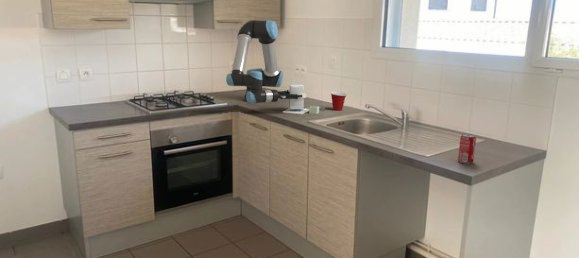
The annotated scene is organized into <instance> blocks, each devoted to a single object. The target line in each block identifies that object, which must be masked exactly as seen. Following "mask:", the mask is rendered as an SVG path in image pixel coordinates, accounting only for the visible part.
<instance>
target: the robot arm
mask: <svg viewBox="0 0 579 258" xmlns="http://www.w3.org/2000/svg"><path fill="white" fill-rule="evenodd" d="M278 31H279V29H278V25H277V23H276V21H274V20H270V19H268V20H257V19H256V20H252V19H251V20H249V21H246V22H245V23H244V24H243V25H242V26H241V27H240V29H239V30H238V33H237V36H236V40H237V45H236V49H235V53H234V58H233V65H232V69H231V73H227V75H226V78H225V80H226V81H225V82H226V85H228V86H229V87H230V86H231V87H245V88H246V90H245V94H244V97H243V101H244V102H247V103H249V104H259V103H266V104H267V103H271V102H272V103H273V102H278V100H279V99H280V100H287V99H288V100H289V99H296V100H297V99H298V98H304V99H306V98H307V92H306V93H305V92H304V93H302V94H290V89H286V90H281V91H278V90H277V89H266V90H265V89H263V87H265V88H267V87H269V88H280V87H281V86H282V83H283V75H284V72H283V71H282V70H281V69H280V67H279V66H278V62H277V55H276V46H275V42H276V40H277V39H278V37H279V32H278ZM253 39H258V42H259V43H260V45H261V49H262V50H261V51H262V56H263V63H264V67H265V68H264V69H263V68H262V67H258V68H257V67H256V68H251V69H247V70H246V73H245V68H246V63H247V57H248V54H249V53H248V52H249V47H250V43H251V42H252V40H253ZM244 73H245V74H244Z"/></svg>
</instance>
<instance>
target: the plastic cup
mask: <svg viewBox="0 0 579 258" xmlns="http://www.w3.org/2000/svg"><path fill="white" fill-rule="evenodd" d="M346 96H347V93H345V92H342V91H341V92H339V91H330V97H331V104H332V110H333V111H336V112H338V111H339V112H341V111H343V108H344V103H345V100H346Z"/></svg>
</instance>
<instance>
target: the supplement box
mask: <svg viewBox="0 0 579 258" xmlns="http://www.w3.org/2000/svg"><path fill="white" fill-rule="evenodd" d="M289 91H290V94H302V93H305V85H304V84H297V83H296V84H289ZM288 100H289V103H288V104H289V108H290V109H304V107H305V104H304V103H305V102H304V101H305V98H298V99H297V100H296V99H288Z"/></svg>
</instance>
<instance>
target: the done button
mask: <svg viewBox="0 0 579 258" xmlns="http://www.w3.org/2000/svg"><path fill="white" fill-rule="evenodd" d="M319 107H320V106H318V105H311V106H309V108H308V109H309V110H308V111H309V115H310V114H311V115H312V114H313V115H318V114H320V110H319Z"/></svg>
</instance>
